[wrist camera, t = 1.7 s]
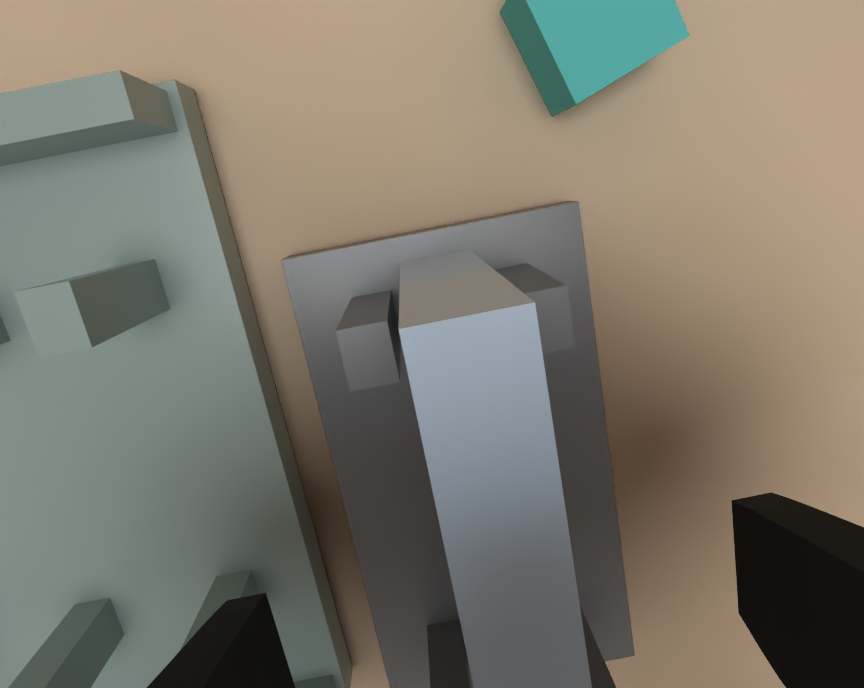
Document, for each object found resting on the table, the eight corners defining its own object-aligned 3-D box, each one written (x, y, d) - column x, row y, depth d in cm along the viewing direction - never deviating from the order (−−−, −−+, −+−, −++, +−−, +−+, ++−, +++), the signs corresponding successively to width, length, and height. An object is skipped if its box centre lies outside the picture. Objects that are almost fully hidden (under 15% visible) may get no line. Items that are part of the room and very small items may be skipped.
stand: (622, 632, 15) (693, 772, 11) (394, 677, 15) (392, 832, 11) (567, 200, 12) (637, 203, 9) (288, 256, 12) (239, 281, 9)
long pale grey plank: (539, 657, 14) (634, 976, 8) (483, 668, 14) (539, 995, 8) (469, 248, 12) (535, 301, 6) (399, 262, 12) (398, 329, 6)
